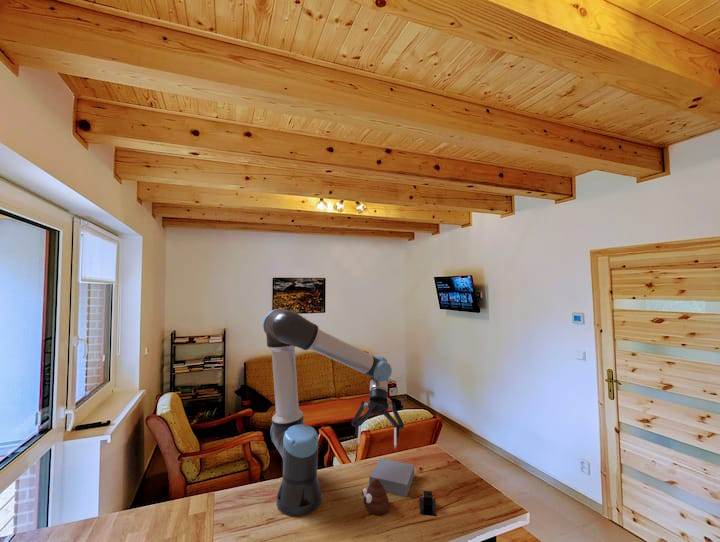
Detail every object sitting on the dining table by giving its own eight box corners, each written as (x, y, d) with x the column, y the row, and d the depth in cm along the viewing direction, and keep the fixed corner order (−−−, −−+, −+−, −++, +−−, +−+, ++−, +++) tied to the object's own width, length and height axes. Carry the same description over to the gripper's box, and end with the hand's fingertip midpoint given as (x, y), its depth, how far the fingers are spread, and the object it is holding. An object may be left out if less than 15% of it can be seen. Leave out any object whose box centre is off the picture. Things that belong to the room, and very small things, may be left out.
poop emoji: (393, 513, 108) (393, 484, 109) (368, 518, 106) (369, 488, 106) (381, 495, 118) (382, 468, 118) (359, 499, 115) (359, 471, 116)
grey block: (369, 487, 122) (369, 476, 122) (379, 468, 135) (380, 458, 135) (406, 496, 117) (407, 484, 117) (414, 475, 130) (414, 465, 130)
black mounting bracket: (440, 522, 105) (440, 507, 106) (416, 519, 106) (416, 504, 107) (436, 497, 118) (436, 484, 118) (416, 495, 119) (416, 481, 119)
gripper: (408, 397, 140) (410, 451, 124) (349, 395, 142) (344, 447, 126) (409, 388, 135) (411, 444, 119) (348, 386, 137) (342, 440, 121)
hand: (376, 446), depth 123 cm, fingers open, 13 cm apart
